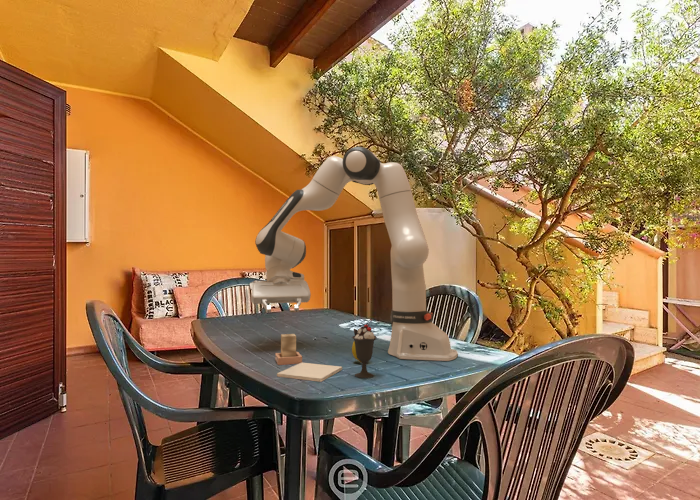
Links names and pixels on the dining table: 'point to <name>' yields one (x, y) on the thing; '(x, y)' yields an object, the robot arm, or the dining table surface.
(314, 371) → the tile
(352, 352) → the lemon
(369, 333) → the sundae
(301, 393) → the dining table surface
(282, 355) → the birch post
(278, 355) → the sleeve holder
